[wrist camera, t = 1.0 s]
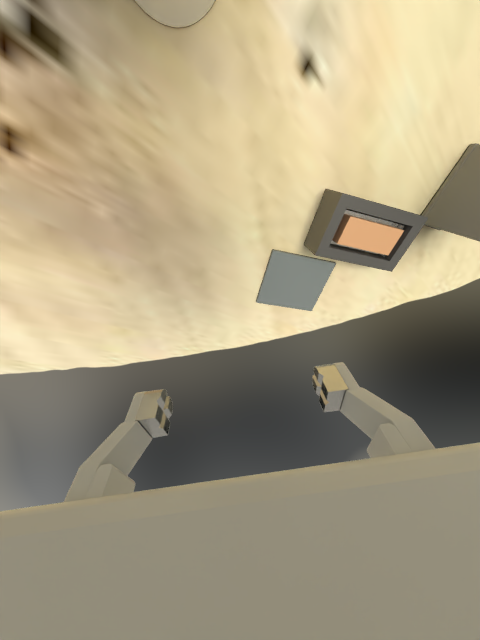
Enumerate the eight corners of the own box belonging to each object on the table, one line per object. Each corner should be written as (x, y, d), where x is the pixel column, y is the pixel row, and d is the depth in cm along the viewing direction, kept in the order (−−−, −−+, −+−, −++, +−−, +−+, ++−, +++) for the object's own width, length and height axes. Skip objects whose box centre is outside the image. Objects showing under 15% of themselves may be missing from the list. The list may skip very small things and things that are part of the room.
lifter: (327, 241, 44) (330, 244, 43) (342, 208, 40) (347, 210, 39) (379, 253, 47) (384, 256, 45) (398, 223, 43) (404, 225, 42)
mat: (272, 249, 48) (273, 250, 47) (334, 262, 51) (336, 263, 50) (256, 300, 56) (256, 302, 55) (310, 309, 59) (311, 311, 58)
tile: (331, 239, 43) (337, 243, 41) (344, 213, 40) (350, 216, 38) (380, 251, 46) (388, 255, 44) (395, 227, 43) (404, 230, 41)
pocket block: (303, 244, 48) (314, 255, 42) (325, 188, 41) (342, 193, 36) (373, 259, 51) (391, 271, 46) (403, 210, 45) (428, 217, 40)
